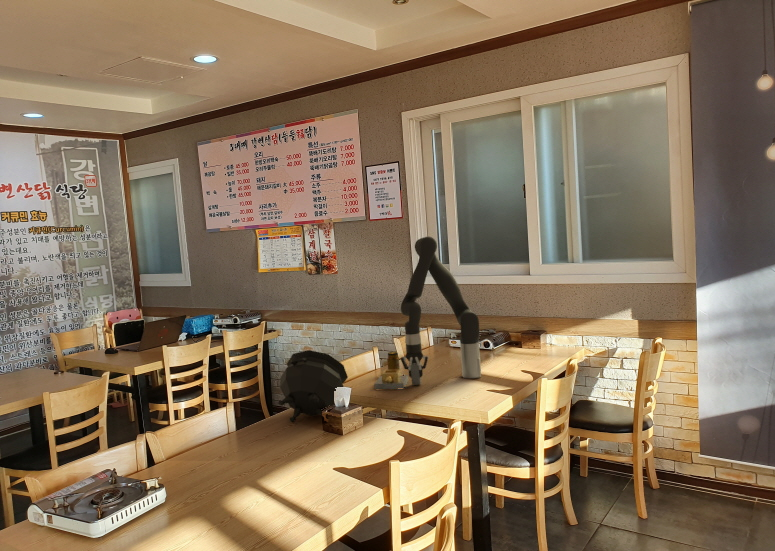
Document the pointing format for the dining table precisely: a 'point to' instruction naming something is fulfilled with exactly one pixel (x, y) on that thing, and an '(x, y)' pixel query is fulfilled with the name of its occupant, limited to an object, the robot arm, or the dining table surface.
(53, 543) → the dining table surface
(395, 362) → the condiment
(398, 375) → the square stand
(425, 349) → the dining table surface
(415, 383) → the gray rectangular block
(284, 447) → the dining table surface
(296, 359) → the cauldron
